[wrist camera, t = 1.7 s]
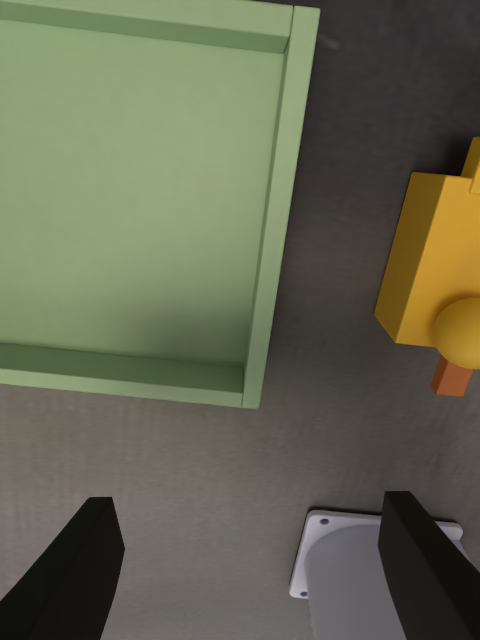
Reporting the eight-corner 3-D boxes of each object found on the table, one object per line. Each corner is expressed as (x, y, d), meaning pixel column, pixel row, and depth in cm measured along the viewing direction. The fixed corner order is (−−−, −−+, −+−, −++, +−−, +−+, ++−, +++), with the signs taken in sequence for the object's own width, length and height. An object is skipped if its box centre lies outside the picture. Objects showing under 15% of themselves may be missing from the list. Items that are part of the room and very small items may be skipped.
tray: (307, 34, 14) (321, 7, 11) (257, 377, 20) (258, 409, 17) (-131, -21, 13) (-218, -61, 11) (-49, 346, 19) (-93, 374, 17)
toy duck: (420, 136, 15) (503, 127, 10) (529, 149, 15) (663, 146, 10) (365, 342, 19) (406, 409, 14) (452, 352, 19) (524, 421, 14)
